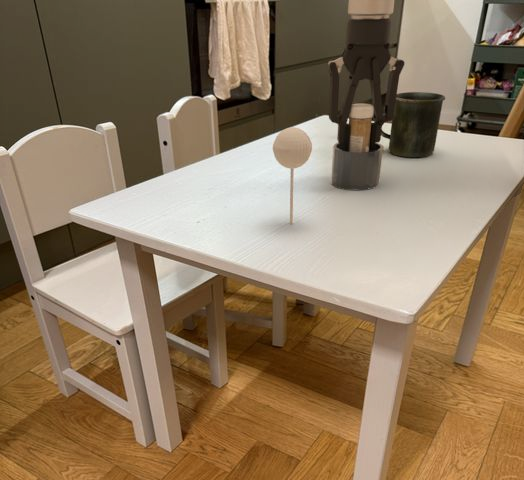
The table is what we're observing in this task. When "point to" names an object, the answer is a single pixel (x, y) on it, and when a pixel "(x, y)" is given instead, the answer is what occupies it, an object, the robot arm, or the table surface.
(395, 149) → the mug
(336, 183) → the tin
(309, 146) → the lollipop
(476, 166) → the table surface
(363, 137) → the sprinkles bottle
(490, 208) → the table surface
